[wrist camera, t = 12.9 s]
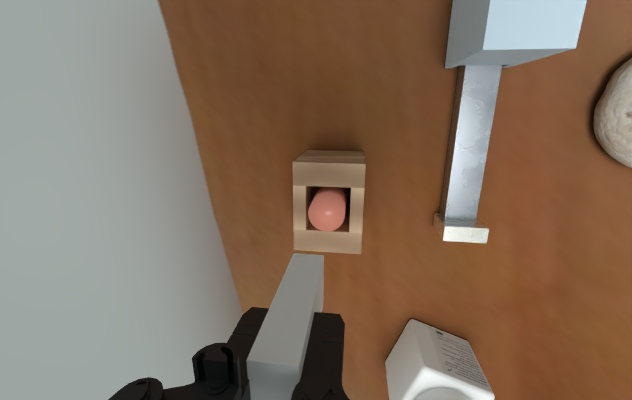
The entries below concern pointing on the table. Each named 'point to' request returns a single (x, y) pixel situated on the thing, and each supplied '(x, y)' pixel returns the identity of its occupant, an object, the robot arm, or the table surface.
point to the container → (434, 367)
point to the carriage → (511, 30)
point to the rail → (467, 154)
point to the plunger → (328, 208)
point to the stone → (616, 116)
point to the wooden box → (328, 173)
